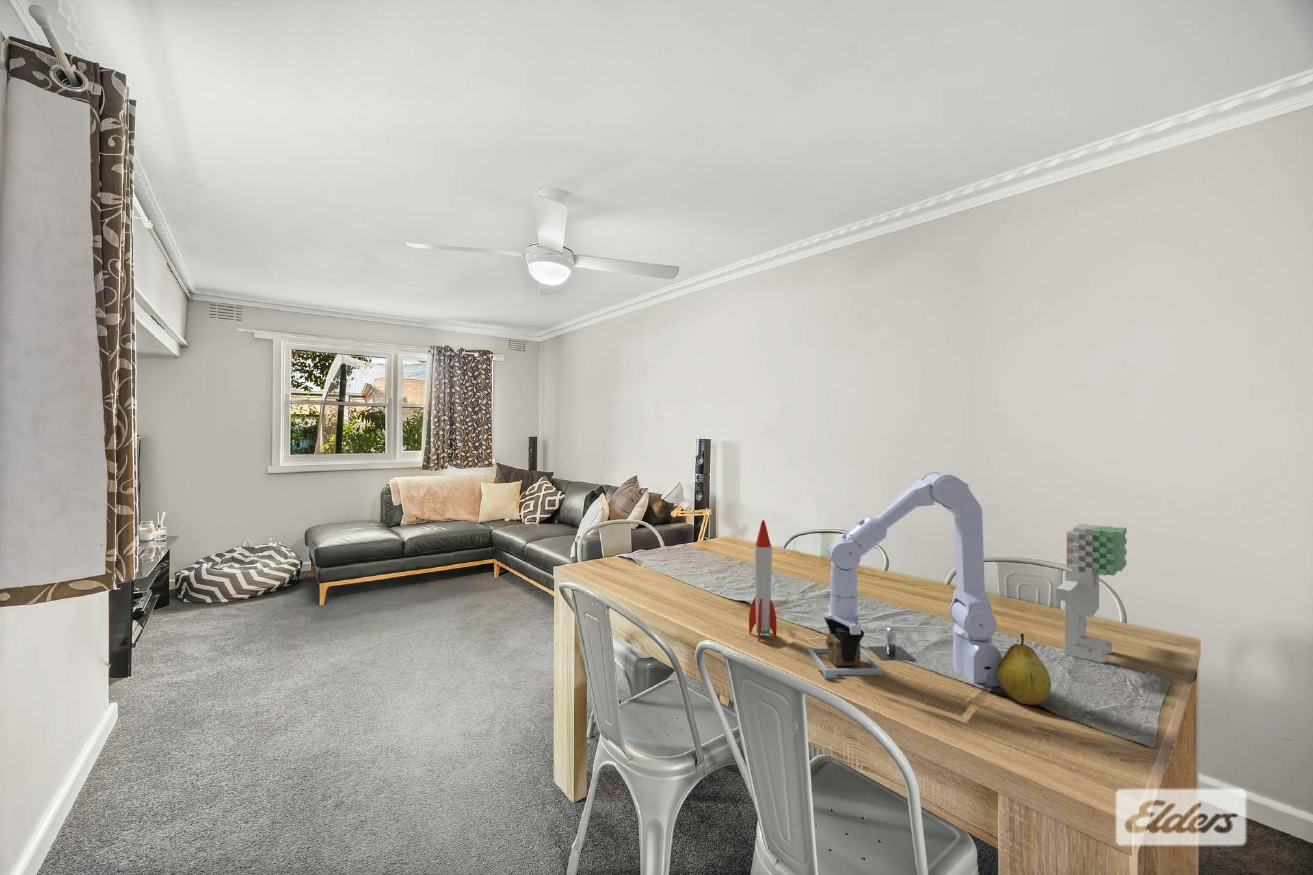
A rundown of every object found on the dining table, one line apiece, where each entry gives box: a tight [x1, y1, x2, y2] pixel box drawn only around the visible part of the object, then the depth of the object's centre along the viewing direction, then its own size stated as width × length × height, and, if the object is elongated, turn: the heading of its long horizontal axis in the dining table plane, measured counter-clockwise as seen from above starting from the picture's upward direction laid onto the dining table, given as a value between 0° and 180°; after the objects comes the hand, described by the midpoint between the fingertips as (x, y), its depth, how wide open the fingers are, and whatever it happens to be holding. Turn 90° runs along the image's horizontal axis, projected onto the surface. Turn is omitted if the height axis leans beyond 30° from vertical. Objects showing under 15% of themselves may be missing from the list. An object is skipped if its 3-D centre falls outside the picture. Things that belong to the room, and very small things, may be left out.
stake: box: [867, 626, 917, 661], centre depth 127 cm, size 8×8×7 cm
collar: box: [825, 633, 861, 667], centre depth 122 cm, size 5×6×5 cm
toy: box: [1055, 523, 1127, 664], centre depth 129 cm, size 30×10×30 cm, turn 134°
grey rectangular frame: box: [807, 646, 883, 680], centre depth 122 cm, size 12×12×2 cm
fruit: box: [996, 633, 1052, 706], centre depth 108 cm, size 9×9×12 cm
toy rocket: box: [748, 519, 778, 642], centre depth 141 cm, size 6×6×30 cm
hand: (843, 655), depth 122 cm, fingers open, 5 cm apart
